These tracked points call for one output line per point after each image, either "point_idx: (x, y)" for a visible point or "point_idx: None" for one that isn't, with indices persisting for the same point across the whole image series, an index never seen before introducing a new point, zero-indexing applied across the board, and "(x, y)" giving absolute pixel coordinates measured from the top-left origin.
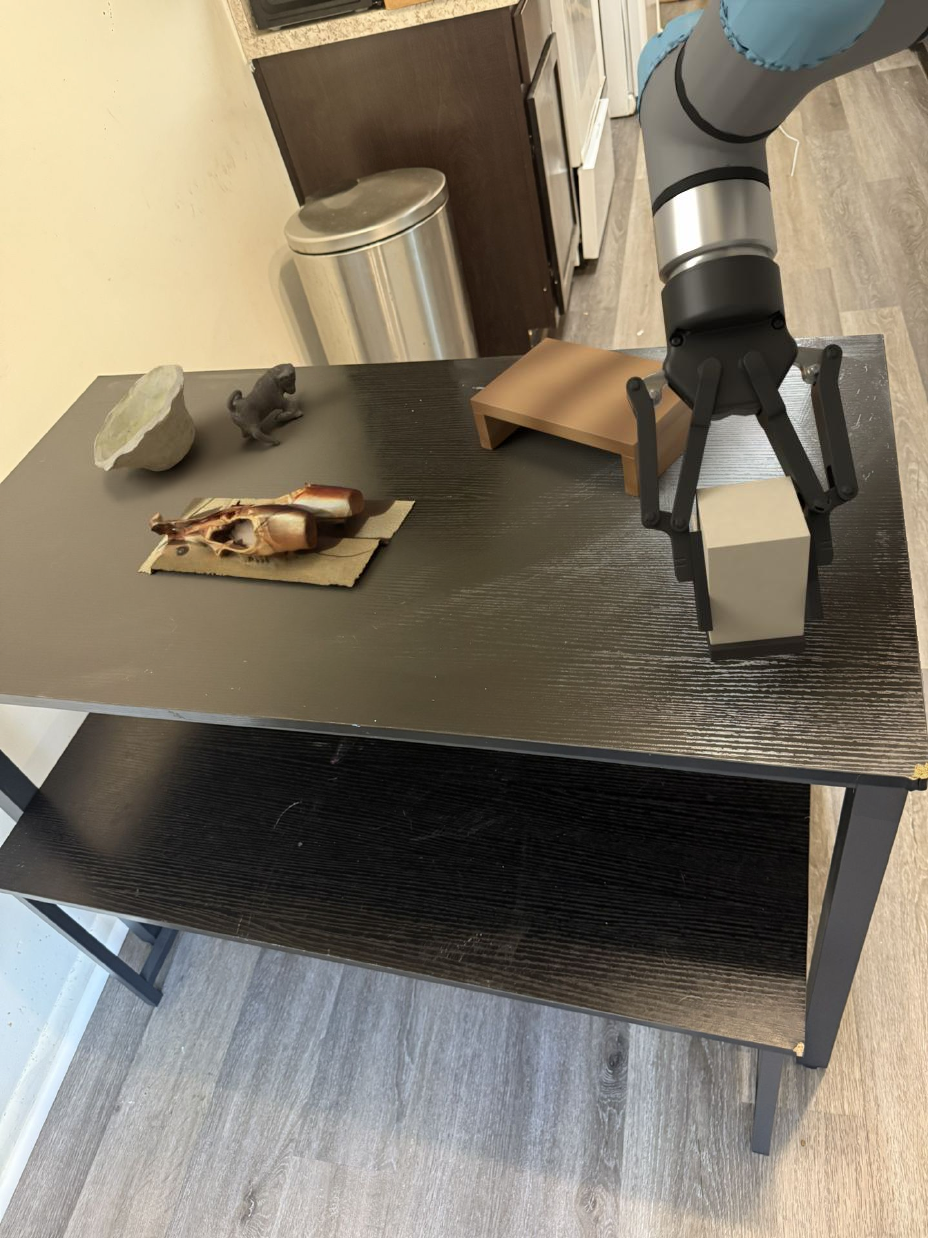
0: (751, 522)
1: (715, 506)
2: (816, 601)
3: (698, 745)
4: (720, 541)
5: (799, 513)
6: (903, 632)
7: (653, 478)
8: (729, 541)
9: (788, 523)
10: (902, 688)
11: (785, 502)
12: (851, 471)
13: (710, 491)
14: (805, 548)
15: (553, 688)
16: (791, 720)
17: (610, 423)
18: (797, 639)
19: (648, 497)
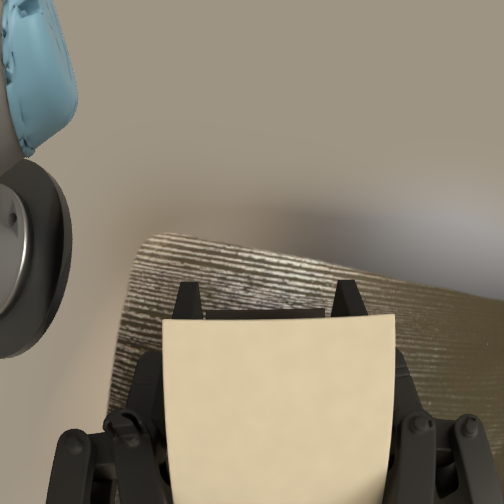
0: (287, 394)
1: (355, 456)
2: (183, 298)
3: (321, 270)
4: (366, 333)
5: (171, 402)
6: (112, 383)
7: (478, 496)
8: (348, 330)
9: (201, 373)
10: (128, 317)
11: (196, 447)
12: (56, 473)
13: (354, 500)
14: (179, 319)
15: (442, 345)
16: (231, 292)
17: None
18: (215, 314)
19: (479, 461)
